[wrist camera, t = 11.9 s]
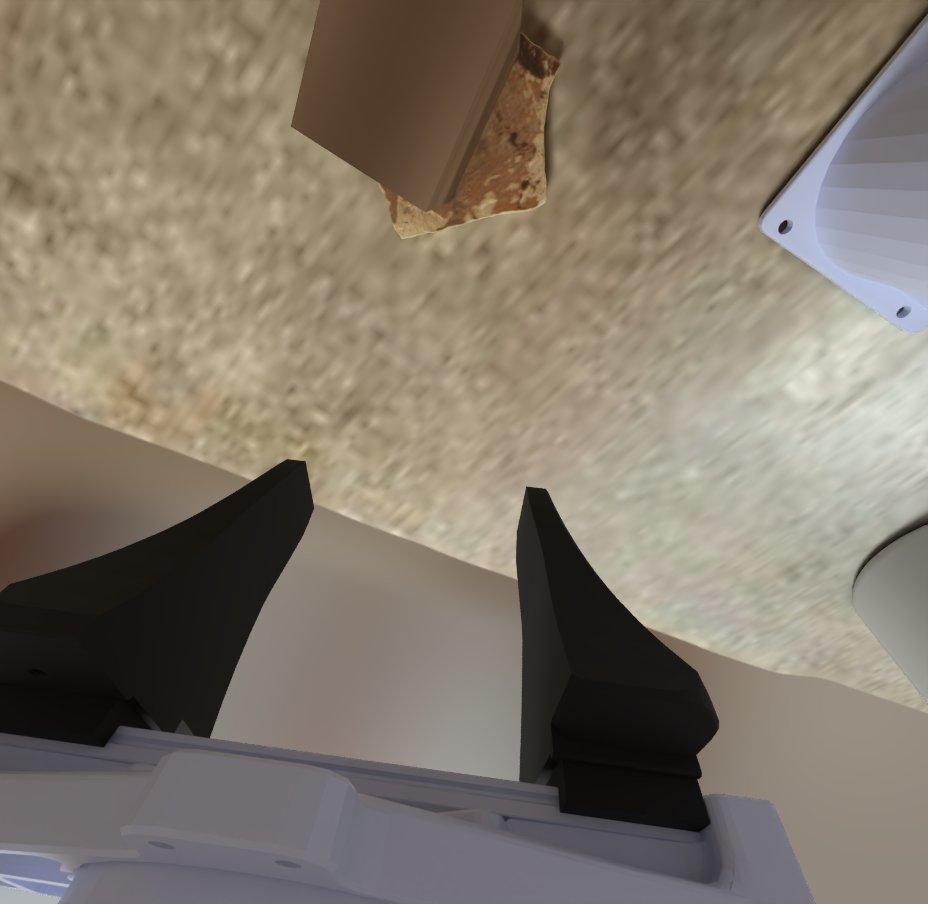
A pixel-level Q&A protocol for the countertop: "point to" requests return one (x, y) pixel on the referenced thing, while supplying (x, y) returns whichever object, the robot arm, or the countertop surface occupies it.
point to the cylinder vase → (899, 604)
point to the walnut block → (407, 87)
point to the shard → (496, 155)
